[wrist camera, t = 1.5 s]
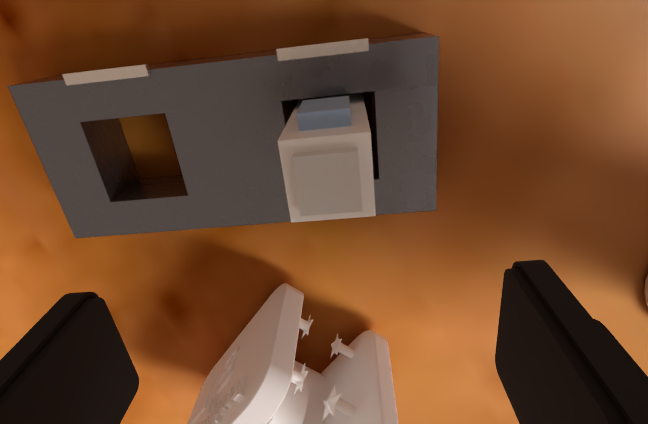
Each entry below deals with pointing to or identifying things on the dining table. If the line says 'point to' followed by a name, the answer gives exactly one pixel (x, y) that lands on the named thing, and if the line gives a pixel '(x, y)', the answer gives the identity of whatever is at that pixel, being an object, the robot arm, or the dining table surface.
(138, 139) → the dining table surface
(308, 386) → the cable organizer
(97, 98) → the jack panel
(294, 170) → the plug
